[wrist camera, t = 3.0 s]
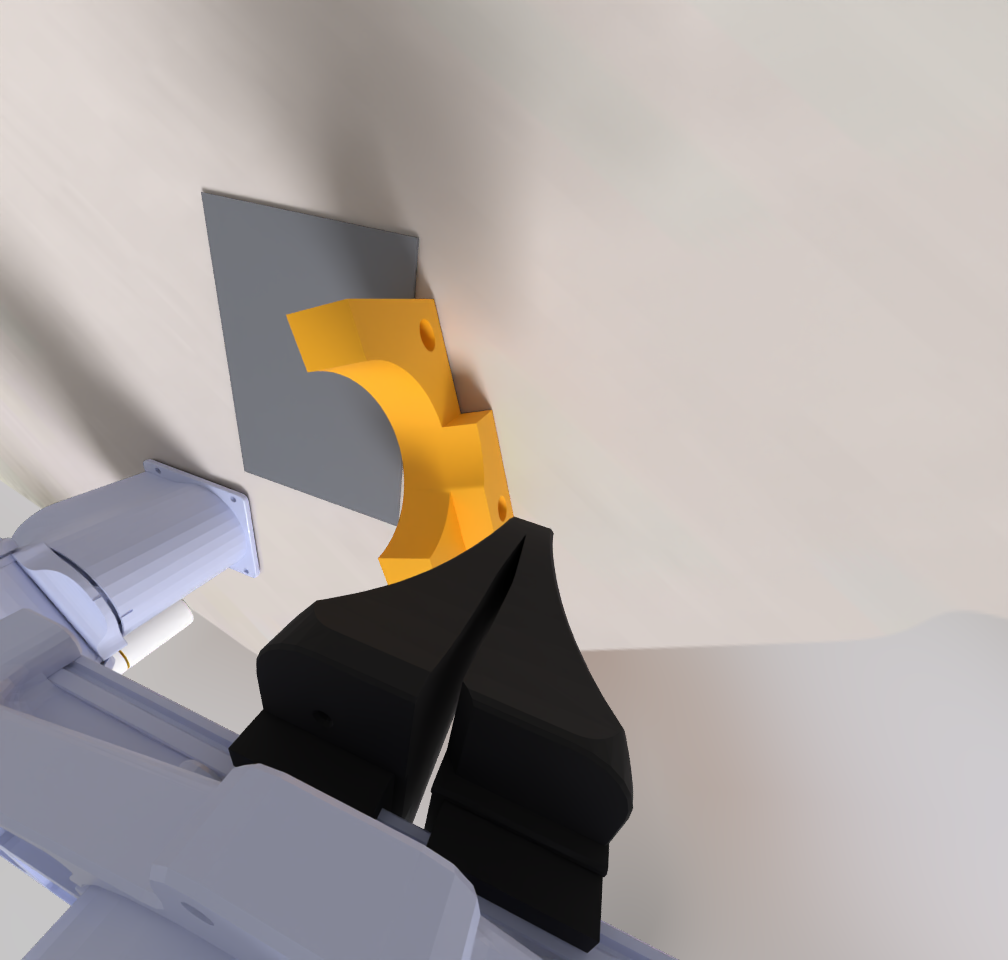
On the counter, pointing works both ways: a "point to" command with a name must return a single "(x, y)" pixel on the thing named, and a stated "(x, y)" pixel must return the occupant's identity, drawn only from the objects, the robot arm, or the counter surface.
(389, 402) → the pipe clamp
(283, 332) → the mat
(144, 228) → the counter surface
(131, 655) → the tube
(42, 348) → the counter surface
